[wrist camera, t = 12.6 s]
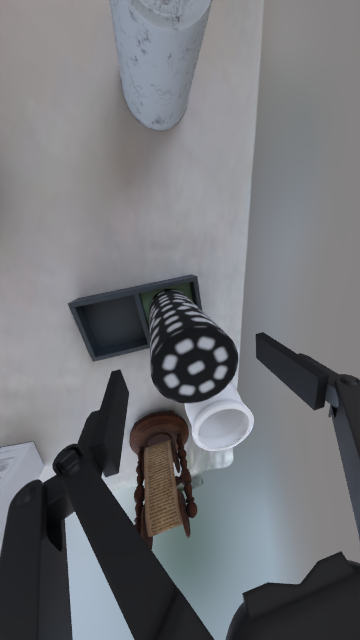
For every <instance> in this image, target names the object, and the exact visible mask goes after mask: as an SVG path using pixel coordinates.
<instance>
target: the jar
mask: <svg viewBox="0 0 360 640" xmlns="http://www.w3.org/2000/svg"><path fill="white" fill-rule="evenodd" d="M184 404H185V409H186V413H187V416H188V419H189V421H190V423H191V425H192V436H193V439H194V441H195V443H196V444H197V445H198V446H199V447H201V448H202V449H205V450H209V451H221V450H226V449H229V448H231V447H233V446H235V445H237V444H239V443H240V442H242V441H243V440H244V439H245V438H246V437H247V436H248V434H249V433H250V431H251V430H252V427H253V423H254V418H253V414H252V413H251V411H250V410H249V408H248V407H247V406H246V405H245V404H243V403H242V400H241V398H240V396H239V394H238V392H237V390H236V389H235V387H234V386H233V385H232V383H231V382H230V383H229V384H228V385H227V387H226V388H225V389H224V390H222V391H221V392H220V393H219V394H217V395H216V396H214V397H212V398H210V399H208V400H205V401H202V402H198V403H190V404H189V403H184Z"/></svg>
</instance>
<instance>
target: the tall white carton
mask: <svg viewBox="0 0 360 640" xmlns="http://www.w3.org/2000/svg"><path fill="white" fill-rule="evenodd" d="M43 468H44V464H43V462H42V460H41V458H40V455H39V453H38V451H37V449H36V447H35V444H34V442H29V443H24V444H18V445H12V446H7V447H1V448H0V554H1V548H2V542H3V537H4V531H5V525H6V520H7V514H8V508H9V505H10V503H11V501H12V499H13V498H14V496H15V495H16V494H17V492H18V491H19V490H20V489H21V488H22V487H24V486H25V485H26V484H27V483H29V482H31V481H33V480H38V478H39V476H40V474H41V472H42V470H43Z"/></svg>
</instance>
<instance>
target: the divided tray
mask: <svg viewBox="0 0 360 640" xmlns="http://www.w3.org/2000/svg"><path fill="white" fill-rule="evenodd" d="M166 289H175V290H178V291H181V292H182V293H183V294H185V295H186V296H187V297H188V298H189V299H190V300H191V301H192V302H193V303H194V304H195V305H196V306H197V307H198V308H199V309H200V310H202V307H201V300H200V293H199V286H198V279H197V276H195V275H187V276H182V277H178V278H173V279H168V280H163V281H158V282H154V283H149V284H144V285H139V286H135V287H130V288H125V289H120V290H116V291H111V292H106V293H101V294H97V295H92V296H87V297H82V298H78V299H76V300H74V301H72V302H70V303H68V305H69V307H70V310H71V312H72V314H73V317H74V319H75V321H76V324H77V326H78V328H79V331H80V333H81V335H82V338H83V340H84V342H85V345H86V347H87V349H88V352H89V354H90V356H91V359H92V361H93V362H94V361H98V360H103V359H107V358H111V357H115V356H119V355H123V354H127V353H131V352H135V351H139V350H143V349H147V348H150V321H149V306H150V303H151V300H152V299H153V297H154V296H155V295H156V294H157V293H159V292H160V291H162V290H166Z"/></svg>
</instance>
